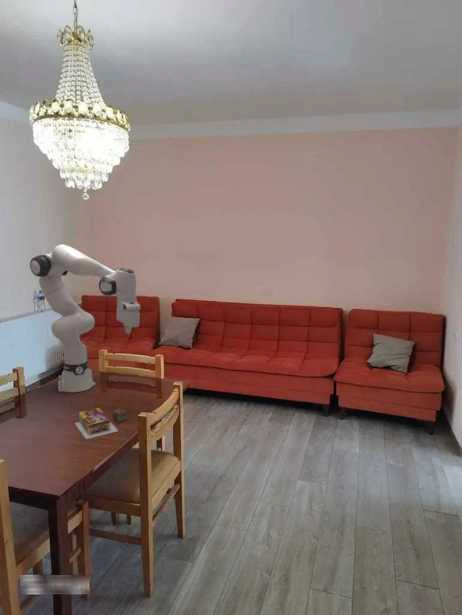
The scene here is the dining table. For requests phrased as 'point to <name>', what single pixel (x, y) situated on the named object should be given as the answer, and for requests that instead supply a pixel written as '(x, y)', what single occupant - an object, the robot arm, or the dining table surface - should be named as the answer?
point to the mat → (96, 434)
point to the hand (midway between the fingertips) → (127, 333)
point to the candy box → (94, 420)
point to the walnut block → (119, 415)
